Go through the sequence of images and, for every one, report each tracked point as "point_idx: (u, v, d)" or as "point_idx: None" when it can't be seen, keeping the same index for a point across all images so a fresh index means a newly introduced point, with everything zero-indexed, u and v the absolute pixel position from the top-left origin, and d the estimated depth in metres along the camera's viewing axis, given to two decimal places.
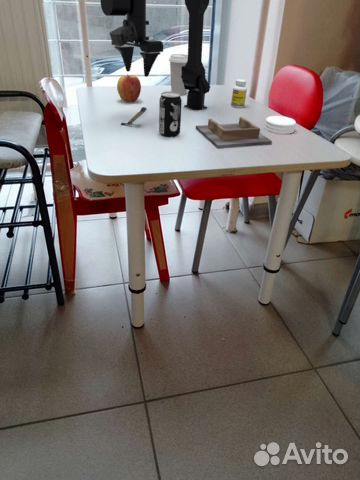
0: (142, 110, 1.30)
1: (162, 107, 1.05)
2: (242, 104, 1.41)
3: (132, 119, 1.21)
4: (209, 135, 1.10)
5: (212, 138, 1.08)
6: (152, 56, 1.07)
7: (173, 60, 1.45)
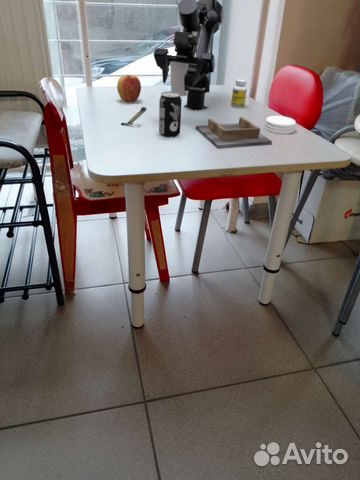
0: (142, 110, 1.31)
1: (162, 107, 1.05)
2: (242, 104, 1.41)
3: (132, 119, 1.21)
4: (209, 135, 1.10)
5: (212, 138, 1.08)
6: (201, 72, 1.11)
7: None
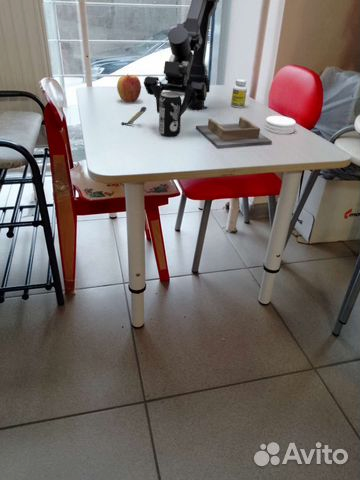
0: (142, 110, 1.31)
1: (162, 107, 1.05)
2: (242, 104, 1.41)
3: (132, 119, 1.21)
4: (209, 135, 1.10)
5: (212, 138, 1.08)
6: (189, 100, 1.08)
7: None
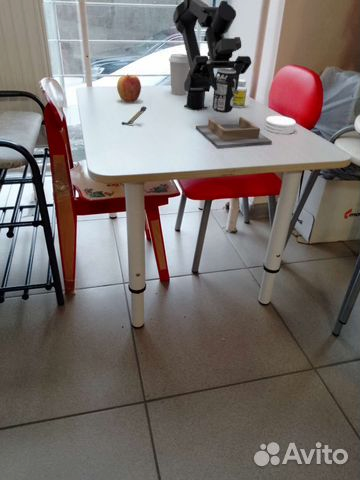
0: (142, 109, 1.31)
1: (224, 84, 1.09)
2: (242, 104, 1.41)
3: (133, 118, 1.22)
4: (209, 135, 1.10)
5: (212, 138, 1.08)
6: None
7: (173, 60, 1.45)
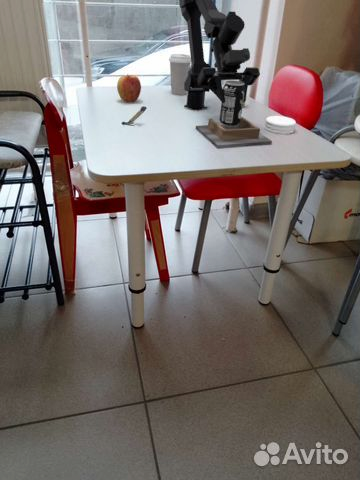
0: (142, 109, 1.31)
1: (232, 96, 1.06)
2: None
3: (133, 118, 1.22)
4: (209, 135, 1.10)
5: (212, 138, 1.08)
6: None
7: (173, 60, 1.45)
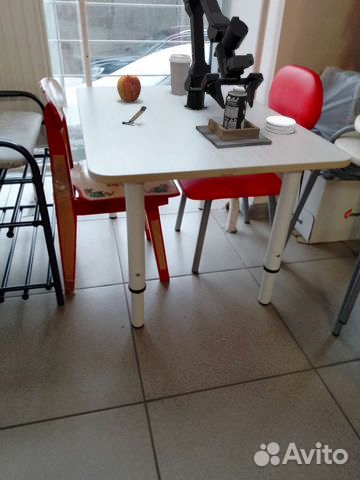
0: (142, 109, 1.31)
1: (235, 107, 1.05)
2: None
3: (133, 118, 1.22)
4: (209, 135, 1.10)
5: (212, 138, 1.08)
6: None
7: (173, 60, 1.45)
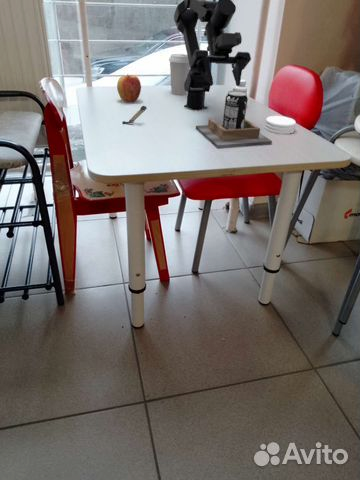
0: (142, 109, 1.32)
1: (235, 107, 1.05)
2: None
3: (133, 118, 1.22)
4: (209, 135, 1.10)
5: (212, 138, 1.08)
6: None
7: (173, 60, 1.45)
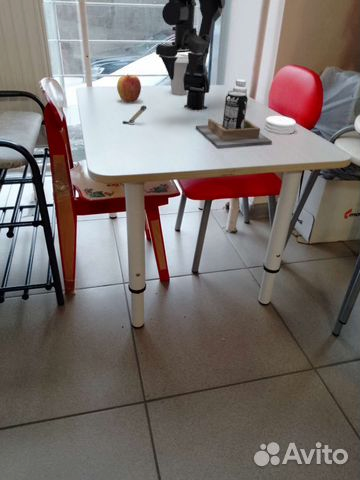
0: (142, 108, 1.32)
1: (235, 107, 1.05)
2: None
3: (133, 117, 1.22)
4: (209, 135, 1.10)
5: (212, 138, 1.08)
6: None
7: None
